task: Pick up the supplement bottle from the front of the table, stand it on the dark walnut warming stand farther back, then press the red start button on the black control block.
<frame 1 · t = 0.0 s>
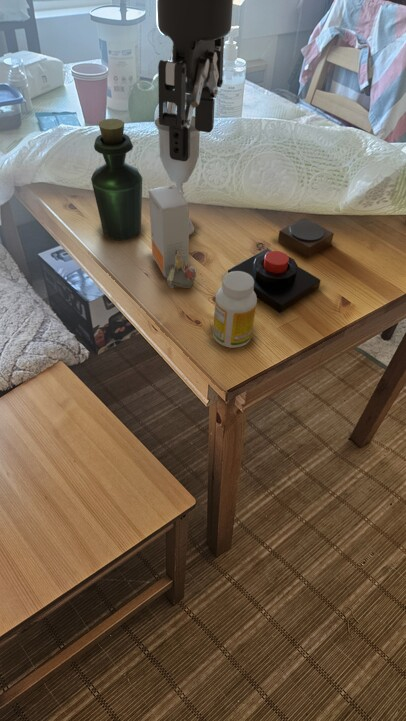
hand: (192, 144, 60), 23 cm above the table, tool pointing down, fingers open, 8 cm apart
cosmetic box: (170, 265, 81), on the table
potion bottle: (122, 231, 88), on the table
figurine: (181, 285, 78), on the table
button housing: (272, 283, 79), on the table
chalice: (179, 229, 89), on the table
supplement bottle: (232, 336, 71), on the table
start button: (276, 262, 76), point 4 cm above the table, slide at 0.1 cm
stand: (304, 242, 87), on the table
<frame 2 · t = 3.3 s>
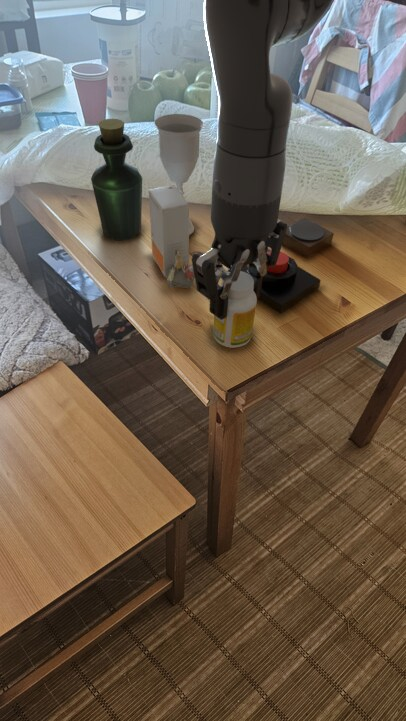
hand: (235, 305, 66), 5 cm above the table, tool pointing down, fingers closed on supplement bottle, 5 cm apart
supplement bottle: (232, 336, 71), on the table, touching gripper
everything else where it was.
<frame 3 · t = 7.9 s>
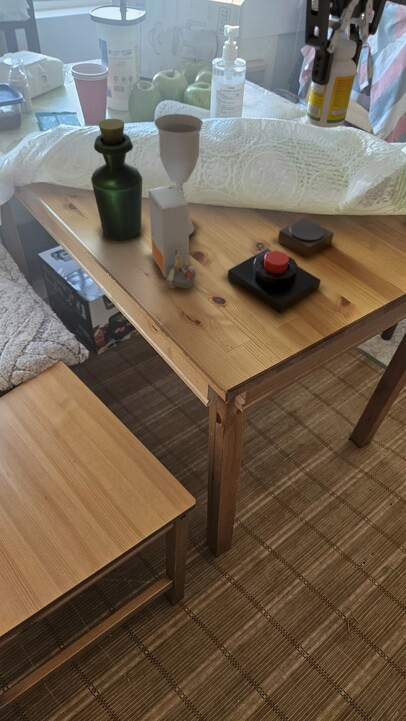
hand: (333, 78, 67), 26 cm above the table, tool pointing down, fingers closed on supplement bottle, 5 cm apart
supplement bottle: (324, 122, 71), point 21 cm above the table, touching gripper
everything else where it was.
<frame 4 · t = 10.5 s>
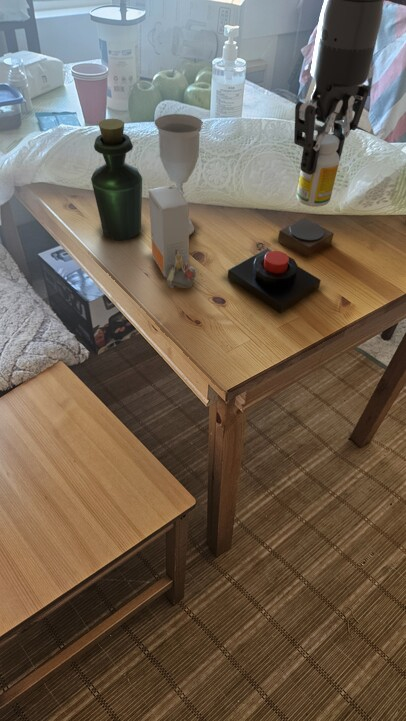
hand: (320, 166, 77), 14 cm above the table, tool pointing down, fingers closed on supplement bottle, 5 cm apart
supplement bottle: (312, 200, 81), point 8 cm above the table, touching gripper
everything else where it was.
when the fingers open (8 cm above the table, at t = 12.4 s): supplement bottle stays where it is, resting on stand.
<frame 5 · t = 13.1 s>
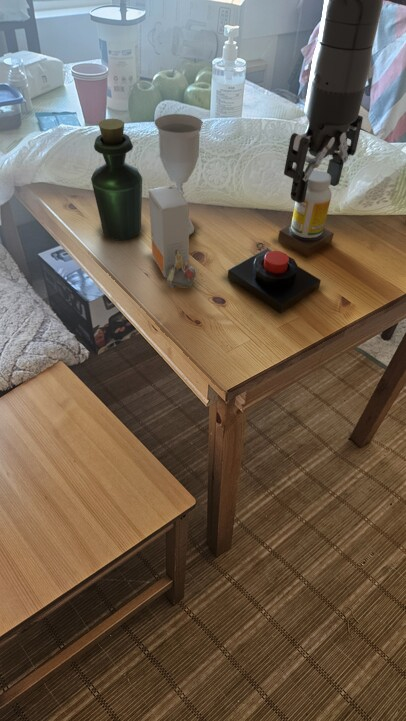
hand: (314, 192, 80), 9 cm above the table, tool pointing down, fingers open, 8 cm apart
supplement bottle: (306, 231, 85), point 2 cm above the table, touching stand
everything else where it was.
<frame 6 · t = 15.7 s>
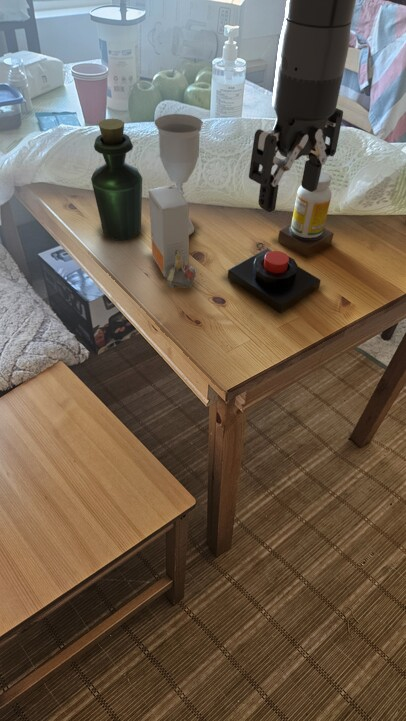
hand: (288, 198, 69), 14 cm above the table, tool pointing down, fingers open, 8 cm apart
nothing on the table moved.
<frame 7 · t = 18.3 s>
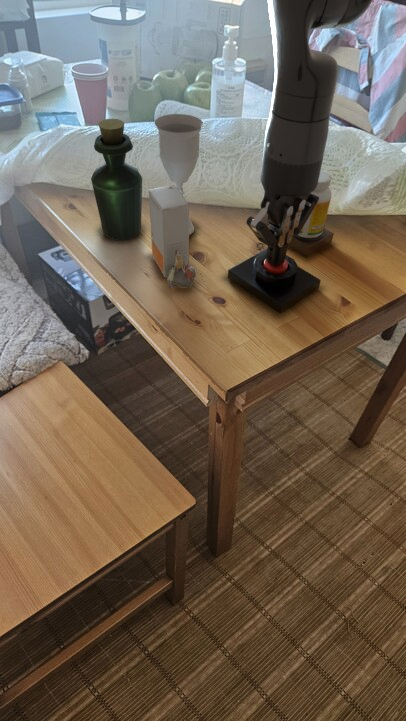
hand: (275, 262, 76), 4 cm above the table, tool pointing down, fingers closed
start button: (275, 267, 77), point 3 cm above the table, slide at -0.9 cm, touching gripper
everything else where it was.
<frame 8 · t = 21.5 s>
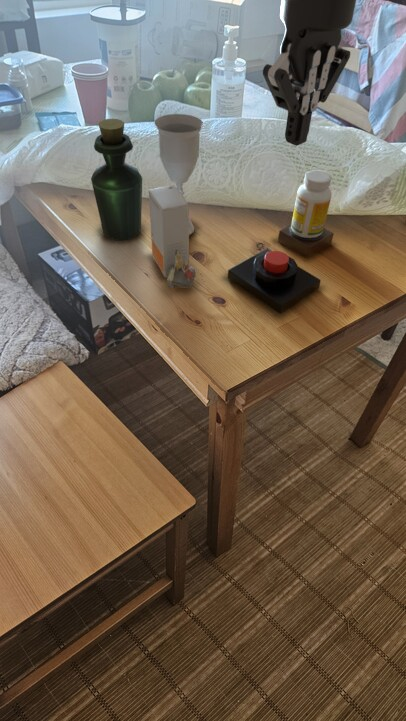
hand: (295, 142, 63), 22 cm above the table, tool pointing down, fingers closed
start button: (276, 262, 76), point 4 cm above the table, slide at 0.1 cm
everything else where it was.
at the end: supplement bottle 0.1 cm off-centre on the stand, point 2.3 cm above the stand's base; supplement bottle tilted 0°; start button pushed in 1.1 cm at the most during the clip, back to where it started at the end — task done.
